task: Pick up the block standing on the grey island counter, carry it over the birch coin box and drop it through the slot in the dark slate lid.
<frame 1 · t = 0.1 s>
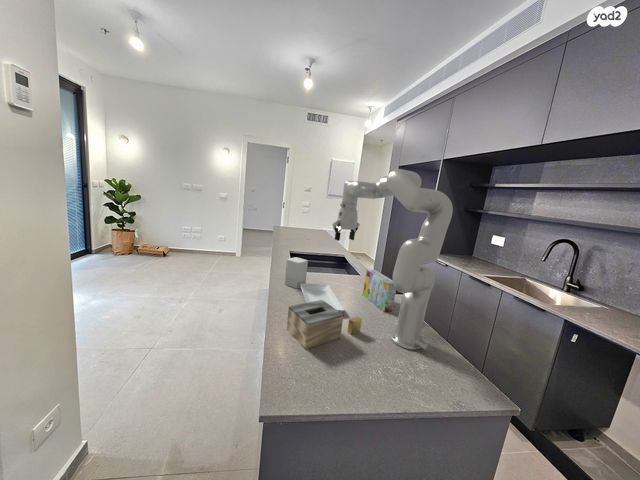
hand: (344, 239, 136), 31 cm above the counter, fingers open, 9 cm apart
snack box: (376, 302, 141), on the counter
tray: (319, 301, 135), on the counter
supplement box: (295, 285, 152), on the counter
coin box: (313, 333, 104), on the counter
block: (353, 332, 109), on the counter
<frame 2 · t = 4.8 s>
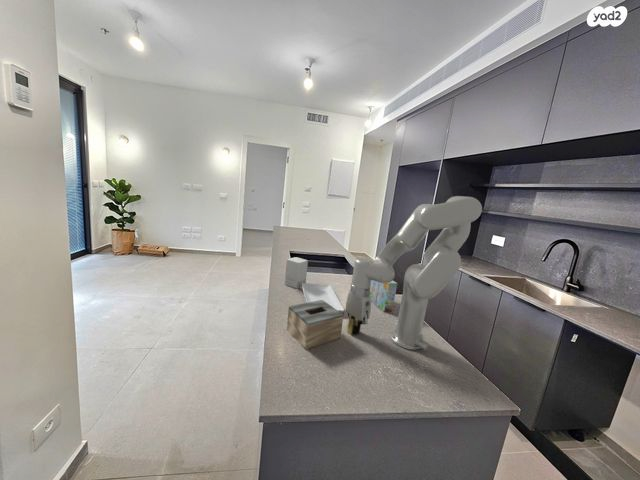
hand: (353, 331, 108), 0 cm above the counter, fingers closed on block, 1 cm apart
block: (353, 332, 109), on the counter, touching gripper
everything else where it was.
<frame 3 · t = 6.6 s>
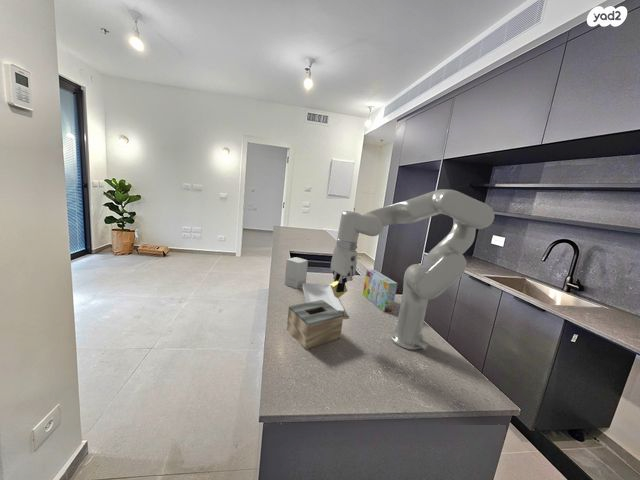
hand: (338, 290, 103), 18 cm above the counter, fingers closed on block
block: (340, 293, 104), point 17 cm above the counter, tilted 30°, touching gripper
everything else where it was.
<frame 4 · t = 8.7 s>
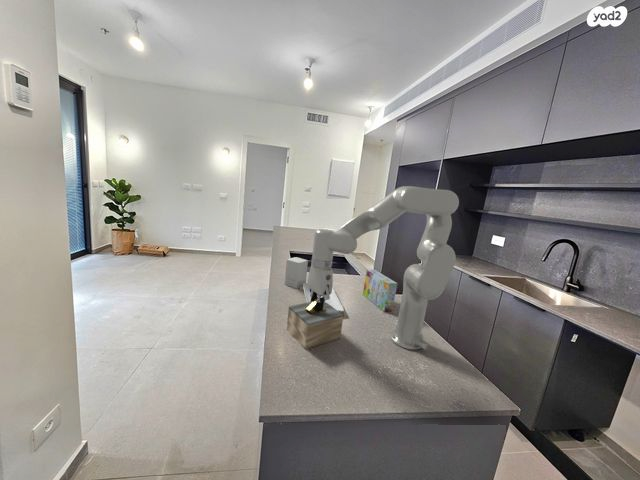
hand: (316, 308, 102), 11 cm above the counter, fingers closed
block: (319, 314, 103), point 8 cm above the counter, tilted 41°
everything else where it was.
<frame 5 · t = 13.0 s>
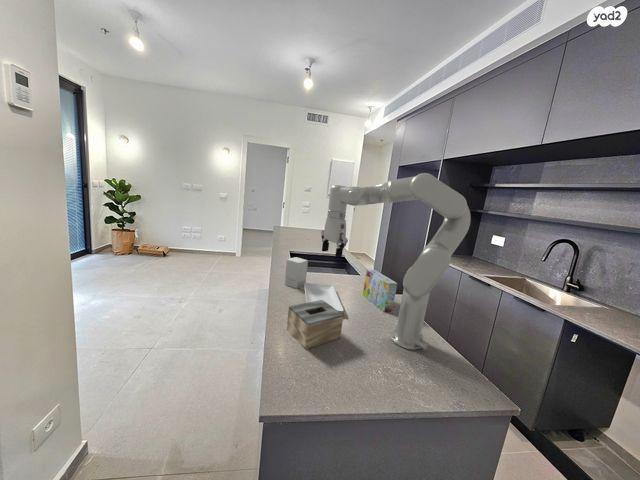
hand: (331, 254, 116), 28 cm above the counter, fingers open, 9 cm apart
block: (320, 331, 104), point 1 cm above the counter, tilted 34°, touching coin box
at the end: block inside the target area on the coin box (2.9 cm from its centre), point 1.2 cm above the coin box's base; the gripper is holding nothing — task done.
